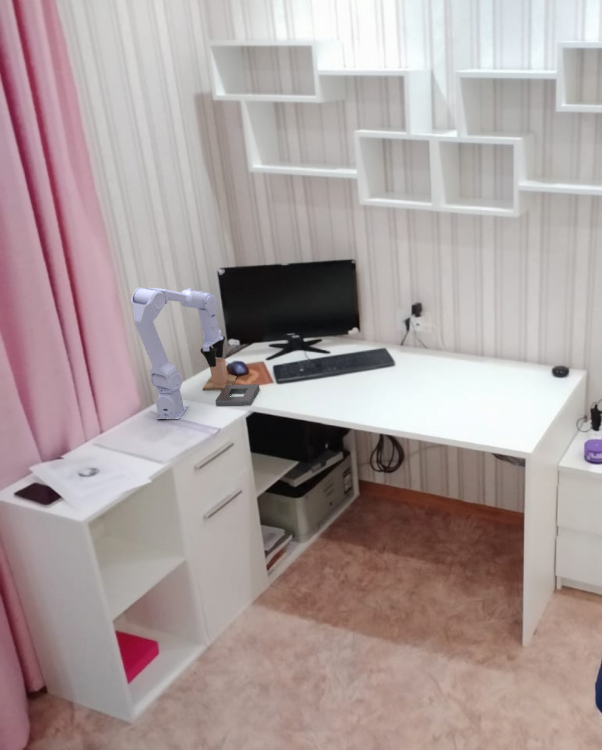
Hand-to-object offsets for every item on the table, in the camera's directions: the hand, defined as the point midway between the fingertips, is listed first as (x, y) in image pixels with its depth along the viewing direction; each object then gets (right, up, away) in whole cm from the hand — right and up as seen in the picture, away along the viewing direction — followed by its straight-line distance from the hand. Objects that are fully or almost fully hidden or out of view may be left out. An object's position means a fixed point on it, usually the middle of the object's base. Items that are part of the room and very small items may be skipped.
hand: (216, 361), depth 307 cm
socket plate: (+8, -12, -9) cm, 17 cm away
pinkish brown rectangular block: (+1, -7, +3) cm, 8 cm away
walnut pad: (+1, -8, +4) cm, 9 cm away
